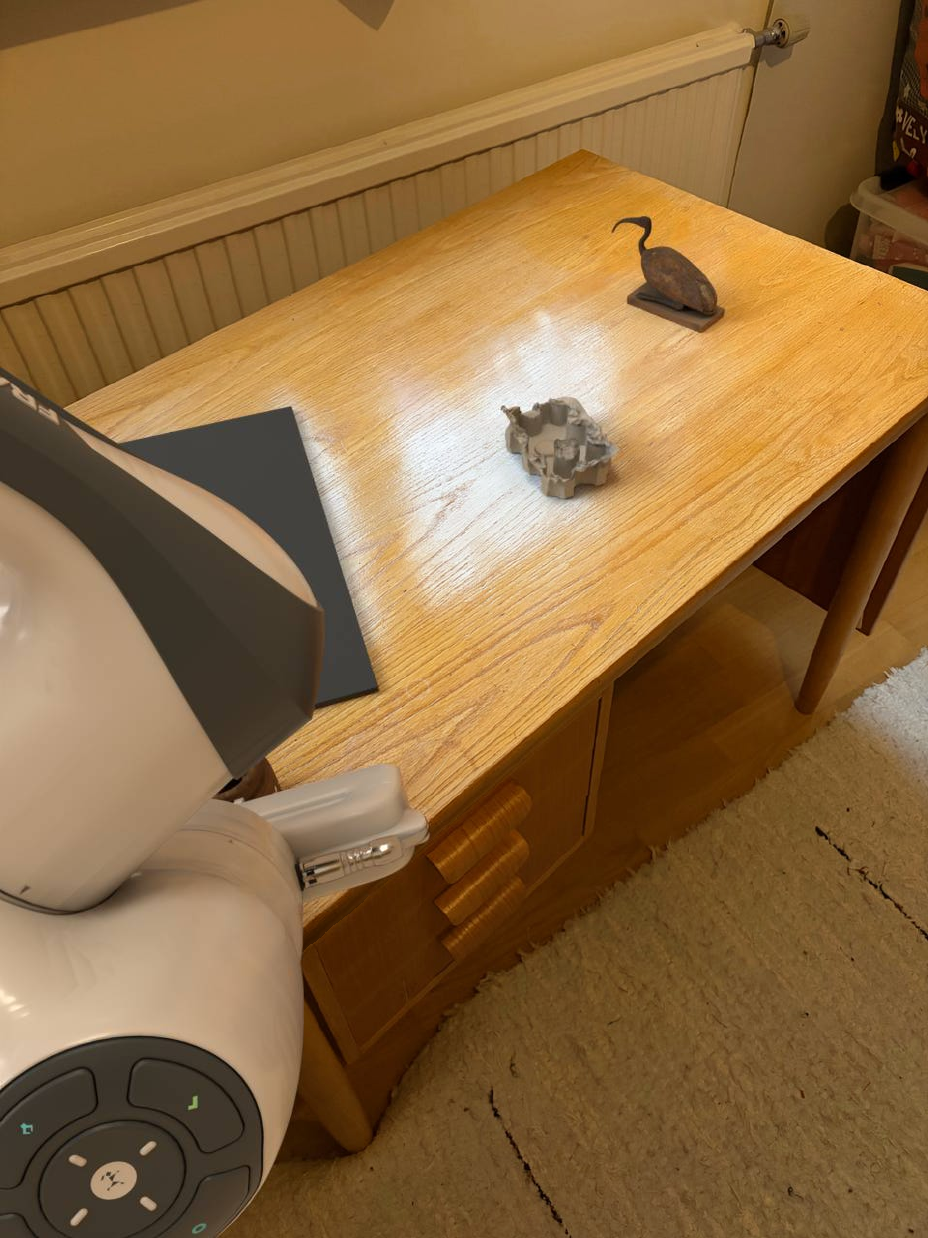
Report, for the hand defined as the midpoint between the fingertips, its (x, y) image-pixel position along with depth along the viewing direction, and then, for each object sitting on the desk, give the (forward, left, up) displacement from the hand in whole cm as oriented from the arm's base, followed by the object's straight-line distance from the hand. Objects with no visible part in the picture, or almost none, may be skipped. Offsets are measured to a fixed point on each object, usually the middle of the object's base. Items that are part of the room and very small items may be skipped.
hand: (222, 817), depth 49 cm
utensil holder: (0, +5, -9) cm, 10 cm away
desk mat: (+1, +30, -8) cm, 31 cm away
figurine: (+53, +53, -9) cm, 75 cm away
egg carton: (+33, +32, -9) cm, 47 cm away
